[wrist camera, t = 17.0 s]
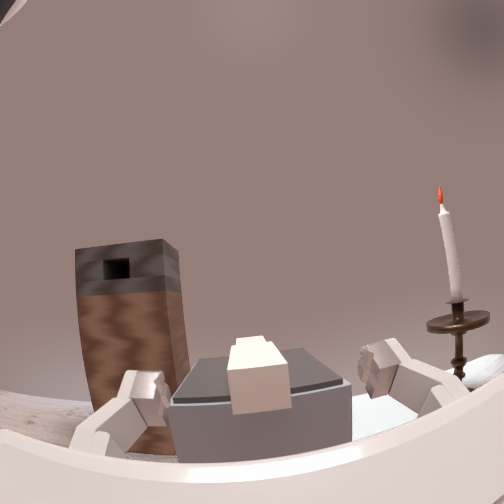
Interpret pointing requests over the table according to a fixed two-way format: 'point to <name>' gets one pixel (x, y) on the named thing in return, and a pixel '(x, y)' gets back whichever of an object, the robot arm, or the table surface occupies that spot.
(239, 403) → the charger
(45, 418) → the table surface
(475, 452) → the robot arm
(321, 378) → the shelf
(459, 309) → the candlestick
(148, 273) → the stand
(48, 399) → the table surface
